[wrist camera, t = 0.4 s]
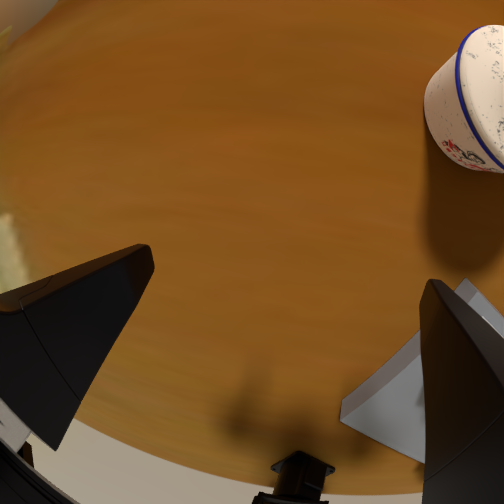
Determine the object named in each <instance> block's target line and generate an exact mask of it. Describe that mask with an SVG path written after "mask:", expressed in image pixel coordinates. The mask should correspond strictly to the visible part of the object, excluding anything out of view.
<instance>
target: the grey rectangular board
mask: <svg viewBox="0 0 504 504" xmlns="http://www.w3.org/2000/svg"><path fill="white" fill-rule="evenodd" d="M454 292H455V293H456V294H457V295H458V296H460V297H461V298H462V299H463V300H464V301H465V302H466V303H467V304H468V305H469V306H471V307H472V308H473V309H474V310H475V311H476V312H477V313H478V314H479V315H480V316H481V317H482V318H483V319H484V320H486V321H487V322H488V323H489V324H490V325H491V326H492V327H493V328H494V329H495V330H496V331H497V332H498V333H499V334H500V335H501V336H502V337H503V338H504V317H503V316H502V315H501V313H500V312H499V311H498V310H497V309H496V308H495V307H494V306H493V305H492V304H491V303H490V302H489V301H488V299H487V298H486V297H485V296H484V295H483V294H482V293H481V292H480V291H479V290H478V289H477V288H476V287H475V286H474V285H473V284H472V283H471V282H470V281H469V280H468V279H467V278H466V277H465V278H464V280H463V281H462V282H461V283H460V285H459V286H458V287H457V288H456V289H455V291H454ZM340 421H341V422H343V423H345V424H346V425H348V426H350V427H352V428H354V429H356V430H357V431H359V432H361V433H363V434H365V435H367V436H369V437H371V438H372V439H374V440H376V441H378V442H380V443H382V444H384V445H386V446H388V447H390V448H392V449H394V450H396V451H398V452H400V453H402V454H405V455H407V456H409V457H411V458H413V459H415V460H417V461H420V462H422V463H424V464H425V403H424V386H423V373H422V363H421V352H420V330H419V331H418V332H417V333H416V334H415V335H414V336H413V337H412V338H411V339H410V340H409V341H408V342H407V343H406V344H405V345H404V346H403V347H402V348H401V349H400V350H399V351H398V352H397V353H396V354H395V355H394V356H393V357H392V358H391V359H389V360H388V361H387V362H386V363H385V364H384V365H383V366H382V367H381V368H380V369H379V370H377V371H376V372H375V373H374V374H373V375H372V376H371V377H369V378H368V379H367V380H366V381H365V382H364V383H362V384H361V385H360V386H359V387H358V388H357V389H355V390H354V391H353V392H352V393H350V394H349V395H348V396H347V397H345V398H344V399H343V400H342V405H341V414H340Z"/></svg>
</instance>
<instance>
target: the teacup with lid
mask: <svg viewBox="0 0 504 504" xmlns="http://www.w3.org/2000/svg"><path fill="white" fill-rule="evenodd" d="M424 111H425V117H426V121H427V125H428V127H429V130H430V132H431V134H432V136H433V138H434V140H435V141H436V143H437V144H438V146H439V147H440V148H441V150H442V151H443V152H444V153H445V154H446V155H447V156H448V157H449V158H450V159H452V160H453V161H454V162H456V163H458V164H459V165H461V166H463V167H466V168H469V169H473V170H481V171H490V172H498V173H504V26H500V25H489V26H482V27H479V28H477V29H475V30H473V31H471V32H470V33H469V34H468V35H467V36H466V37H465V38H464V39H463V41H462V43H461V44H460V47H459V49H458V51H457V52H456V53H455V54H454V55H453V56H452V57H451V58H450V59H449V60H448V61H447V62H446V63H445V64H444V65H443V66H442V67H441V68H440V69H439V70H438V71H437V72H436V73H435V74H434V75H433V77H432V78H431V80H430V81H429V83H428V85H427V88H426V92H425V97H424Z"/></svg>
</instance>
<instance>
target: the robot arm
mask: <svg viewBox="0 0 504 504" xmlns="http://www.w3.org/2000/svg"><path fill="white" fill-rule="evenodd" d="M154 268H155V267H154V261H153V256H152V252H151V248H150V246H149V245H146V244H136V245H133V246H130V247H127V248H125V249H122V250H119V251H116V252H113V253H110V254H108V255H105V256H102V257H99V258H97V259H94V260H91V261H88V262H86V263H83V264H80V265H78V266H75V267H72V268H70V269H67V270H64V271H62V272H59V273H57V274H55V275H51V276H49V277H46V278H44V279H41V280H38V281H36V282H33V283H30V284H27V285H25V286H22V287H19V288H16V289H13V290H10V291H7V292H5V293H2V294H0V504H80V503H78V502H77V501H75V500H74V499H73V498H71V497H70V496H68V495H67V494H65V493H64V492H63V491H61V490H60V489H59V488H57V487H56V486H55V485H53V484H52V483H51V482H50V481H48V480H47V479H46V478H45V477H43V476H42V475H41V474H40V473H39V472H37V471H36V470H35V469H34V464H33V456H32V447H31V445H30V444H29V443H27V441H26V440H27V438H28V437H29V435H30V434H31V433H32V434H33V435H35V436H36V437H37V438H38V439H40V440H41V441H42V442H43V443H45V444H46V445H47V446H49V447H50V448H51V449H53V450H54V451H56V450H57V449H58V447H59V445H60V443H61V441H62V439H63V437H64V435H65V433H66V431H67V429H68V427H69V425H70V423H71V421H72V419H73V417H74V415H75V413H76V411H77V410H78V408H79V406H80V404H81V401H82V400H83V398H84V396H85V394H86V392H87V390H88V389H89V387H90V385H91V383H92V381H93V379H94V378H95V376H96V374H97V372H98V371H99V369H100V367H101V365H102V363H103V362H104V360H105V358H106V356H107V355H108V353H109V351H110V350H111V348H112V346H113V344H114V343H115V341H116V339H117V338H118V336H119V334H120V333H121V331H122V329H123V328H124V326H125V324H126V323H127V321H128V319H129V318H130V316H131V315H132V313H133V311H134V310H135V308H136V306H137V304H138V302H139V300H140V298H141V296H142V294H143V292H144V290H145V288H146V286H147V284H148V282H149V280H150V278H151V276H152V274H153V272H154ZM419 313H420V352H421V363H422V373H423V386H424V403H425V470H424V484H423V496H422V504H504V338H503V337H502V336H501V335H500V334H499V333H498V332H497V331H496V330H495V329H494V328H493V327H492V326H491V325H490V324H489V323H488V322H487V321H486V320H484V319H483V318H482V317H481V316H480V315H479V314H478V313H477V312H476V311H475V310H474V309H473V308H472V307H471V306H469V305H468V304H467V303H466V302H465V301H464V300H463V299H462V298H461V297H460V296H458V295H457V294H456V293H455V292H454V291H453V290H452V289H450V288H449V287H448V286H447V285H446V284H445V283H444V282H442V281H441V280H436V279H429V280H428V281H427V283H426V286H425V289H424V292H423V295H422V298H421V301H420V306H419ZM271 470H272V471H274V472H276V473H279V476H278V479H277V482H276V485H275V488H274V491H273V494H267V493H264V492H259V493H258V496H255V497H254V499H253V502H252V504H328V503H329V501H320V496H321V492H322V490H323V487H324V482H325V477H326V476H328V475H330V474H332V473H334V472H335V468H334V467H332V466H330V465H327V464H325V463H323V462H321V461H319V460H317V459H315V458H313V457H311V456H309V455H307V454H305V453H303V452H301V451H297V452H295V453H293V454H292V455H290V456H288V457H286V458H285V459H283V460H281V461H279V462H277V463H276V464H274V465H272V466H271Z"/></svg>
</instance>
